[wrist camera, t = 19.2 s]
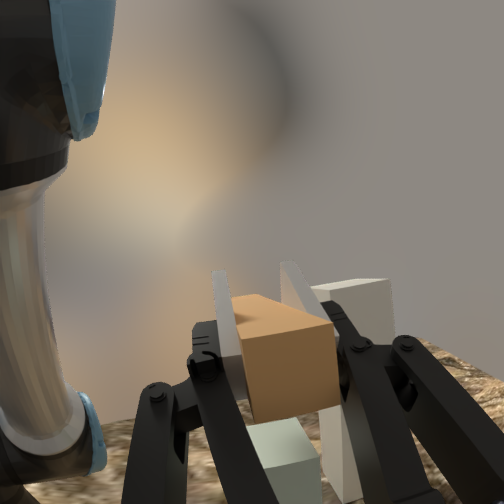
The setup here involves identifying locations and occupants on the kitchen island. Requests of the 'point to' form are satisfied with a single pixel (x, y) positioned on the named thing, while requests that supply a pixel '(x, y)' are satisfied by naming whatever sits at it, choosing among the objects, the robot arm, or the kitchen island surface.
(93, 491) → the kitchen island surface
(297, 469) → the pale green tall block
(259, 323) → the bar
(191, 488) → the kitchen island surface
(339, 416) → the post
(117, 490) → the kitchen island surface
